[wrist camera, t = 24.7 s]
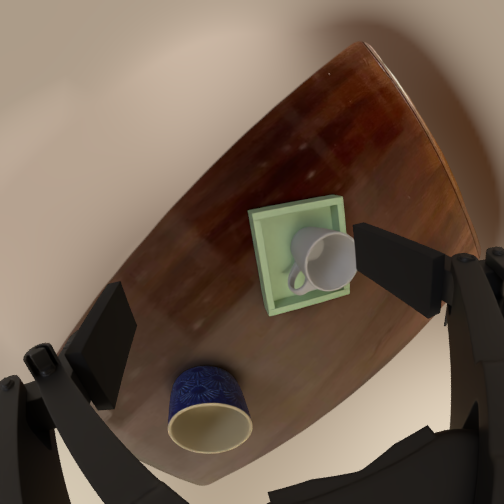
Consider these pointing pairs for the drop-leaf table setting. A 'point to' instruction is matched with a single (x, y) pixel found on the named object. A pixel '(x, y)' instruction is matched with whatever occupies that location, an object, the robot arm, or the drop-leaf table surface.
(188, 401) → the planter
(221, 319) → the drop-leaf table surface
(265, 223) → the tray
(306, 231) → the cup
